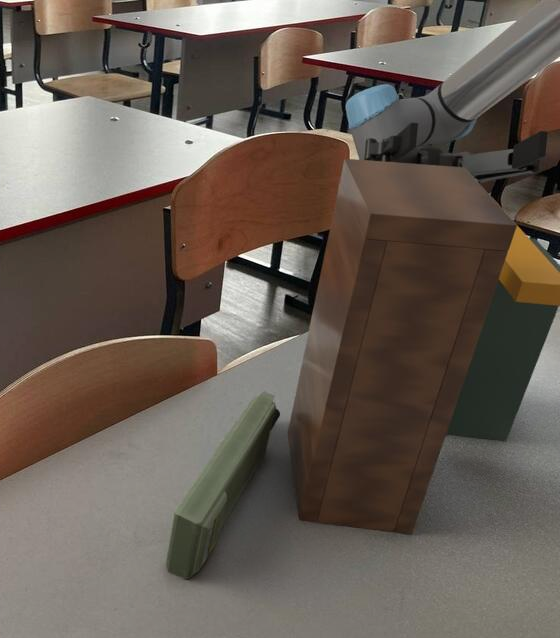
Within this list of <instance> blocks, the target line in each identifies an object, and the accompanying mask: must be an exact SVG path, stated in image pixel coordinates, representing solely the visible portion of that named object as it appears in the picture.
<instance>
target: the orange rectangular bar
mask: <svg viewBox="0 0 560 638" xmlns="http://www.w3.org/2000/svg"><path fill="white" fill-rule="evenodd" d="M496 203H497V204H498V205H499V206H500V204H499V203H498V201H496ZM504 212H505V213H506V214H507V215H508V216H509V214H508V212H506V211H505V210H504ZM513 222H514V223H515V224H516V225H517V223H516V222H515V221H514V220H513ZM529 238H530V237H528V235H527V234H526V233H525V232H524V231H523V230H522V229H521V228H520V227H519V226H518V225H517V227H516V230H515V233H514V236H513V239H512V242H511V245H510V248H509V251H508V253H507V256H506V259H505V262H504V265H503V268H502V271H501V274H500V277H499V280H500V281H501V283H502V284H503V285H504V287H505V288H506V290H507V291H508V292H509V294H510V295H511V296H512V298H513V299H514V301H515V302H525V303H536V304H546V305H557V306H559V307H560V273H559V271H558V270H557V269H556V268H555V267H554V266H553V265H552V264H551V263H550V261H549V260H548V259H547V258H546V257H545V256H544V255H543V254H542V252H541V251H540V250H539V249H538V248H537V247H536V246H535V245H534V244H533V242H532V241H531V240H530V239H529Z"/></svg>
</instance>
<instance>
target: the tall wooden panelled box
mask: <svg viewBox="0 0 560 638" xmlns="http://www.w3.org/2000/svg"><path fill="white" fill-rule="evenodd" d="M496 202H497V201H496V200H495V199H494V197H493V196H491V194H490V193H488V192H487V190H486V189H485V188H484V187H483V186H482V185H481V183H480V184H479V182H478V181H477V180H476V179H475V178H474V177H473V176H472V175H471V174H470V172H469V171H468V170H467V169H466V168H464V167H451V166H437V165H424V164H410V163H396V162H383V161H369V160H359V159H355V158H344V159H343V164H342V169H341V174H340V178H339V184H338V188H337V194H336V197H335V203H334V209H333V213H332V218H331V222H330V228H329V233H328V237H327V241H326V246H325V251H324V255H323V260H322V265H321V271H320V276H319V280H318V285H317V289H316V295H315V299H314V305H313V309H312V313H311V317H310V318H311V319H310V324H309V328H308V333H307V338H306V342H305V348H304V352H303V358H302V362H301V367H300V372H299V376H298V381H297V386H296V391H295V396H294V401H293V406H292V411H291V414H290V420H289V424H288V429H287V436H288V437H287V438H288V445H289V452H290V462H291V467H292V469H291V470H292V475H293V484H294V490H295V492H294V493H295V499H296V506H297V513H298V520H299V521H307V522H313V523H321V524H329V525H337V526H338V525H339V526H344V527H352V528H359V529H366V530H367V529H368V530H374V531H382V532H391V533H398V534H406V535H407V534H408V535H413V533H414V530H415V527H416V524H417V522H418V519H419V515H420V513H421V510H422V506H423V504H424V501H425V498H426V495H427V491H428V490H429V486H430V484H431V481H432V477H433V475H434V471H435V469H436V465H437V462H438V460H439V457H440V454H441V451H442V449H443V444H444V442H445V439H446V436H447V434H446V433H447V430H448V427H449V424H450V421H451V418H452V415H453V412H454V410H455V407H456V404H457V401H458V398H459V395H460V392H461V389H462V386H463V383H464V380H465V377H466V374H467V371H468V368H469V365H470V362H471V359H472V356H473V353H474V351H475V348H476V345H477V342H478V339H479V336H480V333H481V330H482V327H483V324H484V321H485V318H486V315H487V312H488V309H489V306H490V303H491V300H492V297H493V295H494V292H495V289H496V286H497V283H498V280H499V277H500V274H501V271H502V268H503V265H504V262H505V259H506V256H507V253H508V251H509V248H510V245H511V242H512V239H513V236H514V233H515V230H516V227H517V226H518V224H517V223H516V222H515V221H514V219H512V218H511V216H509V214H508V213H507V212H506V211H505V210H504V209H503V208H502V206H500V204H499V203H498V202H497V203H498V204H499V205H498V204H497V203H496ZM504 211H505V212H506V213H507V214H508V215H507V214H506V213H505V212H504ZM513 221H514V222H515V223H516V224H515V223H514V222H513Z"/></svg>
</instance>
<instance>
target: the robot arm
mask: <svg viewBox="0 0 560 638" xmlns="http://www.w3.org/2000/svg"><path fill="white" fill-rule="evenodd" d="M559 58H560V0H540V1H538V2H537V3H536V4H534V5H533V6H532V7H531V8H530V9H528V11H527V12H525V13H524V14H523V15H521V16H520V17H519V18H518V19H516V21H514V22H513V23H512V24H510V26H509V27H507V28H506V29H505V30H503V32H501V33H500V34H499V35H498V36H497V37H495V38H494V39H493V40H492V41H490V43H488V44H487V45H486V46H485V47H483V48H482V49H481V50H479V52H477V53H476V54H474V55H473V56H472V57H471V58H470V59H469V60H468V61H466V62H465V63H464V64H463V65H462V66H461V67H460V68H458V69H457V70H455V72H453V73H452V74H450V76H448V77H447V78H446V79H445V80H444V81H443V82H442V83H441V84H439V85H438V86H436V87H435V88H434V89H433V90H432V91H430V92H429V93H427V94H426V95H423V96H418V97H417V96H416V97H408V98H400V95H399V94H398V93H397V90H396V88H395V86H393V85H391V84H387V83H385V84H379V85H374V86H372V87H369V88H366V89H363V90H362V91H359V92H357V93H355V94H353V96H351V97H349V99H347V101H346V103H345V111H346V118H347V121H348V129H349V130H350V133H351V136H352V140H353V143H354V147H355V150H356V154H357V157H358V160H369V161H383V162H396V163H410V164H424V165H437V166H451V167H464V168H466V169H467V170H468V171H469V172H470V174H471V175H472V176H473V177H474V178H475V179H476V180H477V181H478V182H479V184H480V185H481V184H483V183H487V182H489V181H496V180H500V179H506V178H512V177H518V176H523V175H524V176H525V175H529V174H537V173H540V172H541V167H542V158H544V157H546V153H547V144H548V143H547V141H548V133H549V132H548V131H546V130H540V131H537V132H536V133H534V134H532V135H531V136H528V137H527V138H525V139H523V140H520V141H519V142H518V143H515V144H514V145H513V148H509V149H501V150H495V151H494V150H493V151H486V152H479V153H478V152H477V153H472V152H469V151H467V150H464V151H458V152H449V151H448V152H447V151H444V150H442V149H441V148H439V147H438V146H434V145H437V144H447V143H450V142H454V141H455V140H459V139H460V140H461V139H462V138H465V137H466V136H467V135H468V134H470V133H471V131H472V130H473V128H474V126H475V124H476V123H477V120H478V118H479V117H481V115H483V114H484V113H485V112H487V111H489V110H490V109H491V108H493V107H494V106H495V105H496V104H498V103H499V102H500V101H502V100H503V99H504V98H506V97H507V96H509V95H510V94H511V93H513V92H514V91H515V90H517V89H518V88H520V87H521V86H522V85H524V84H525V83H526V82H528V81H529V80H530V79H532V78H533V77H534V76H536V75H537V74H539V73H540V72H542V71H543V70H544V69H545V68H546V67H548V66H550V65H551V64H552V63H553V62H555V61H556V60H558V59H559ZM460 159H461V160H460Z"/></svg>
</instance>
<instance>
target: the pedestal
mask: <svg viewBox="0 0 560 638" xmlns="http://www.w3.org/2000/svg"><path fill="white" fill-rule="evenodd" d="M528 238H529V239H530V240H531V241H532V242H533V244H534V245H535V246H536V247H537V248H538V249H539V250H540V251H541V252H542V254H543V255H544V256H545V257H546V258H547V259H548V260H549V261H550V263H551V264H552V265H553V266H554V267H555V268H556V269H557V270H558V271H559V273H560V264H559V262H557V260H556V259H555V258H554V257H553V256H552V255H551V254H550V252H548V250H546V248H545V247H544V246H543V245H542V244H541V243H540V242H539V241H538V240H537V239H536V238H532V237H531V238H530V237H528ZM559 308H560V306H557V305H546V304H536V303H525V302H515V301H514V299H513V298H512V296H511V295H510V294H509V292H508V291H507V290H506V288H505V287H504V285H503V284H502V283H501V281H500V280H498V283H497V286H496V289H495V292H494V295H493V297H492V300H491V303H490V306H489V309H488V312H487V315H486V318H485V321H484V324H483V327H482V330H481V333H480V336H479V339H478V342H477V345H476V348H475V351H474V353H473V356H472V359H471V362H470V365H469V368H468V371H467V374H466V377H465V380H464V383H463V386H462V389H461V392H460V395H459V398H458V401H457V404H456V407H455V410H454V412H453V415H452V418H451V421H450V424H449V427H448V430H447V433H446V435H450V436H451V435H452V436H460V437H468V438H477V439H485V440H486V439H487V440H496V441H504V442H506V441H507V440H508V438H509V435H510V433H511V430H512V428H513V425H514V422H515V419H516V417H517V415H518V412H519V409H520V407H521V404H522V401H523V399H524V396H525V394H526V391H527V389H528V387H529V383H530V381H531V379H532V376H533V374H534V372H535V369H536V366H537V363H538V361H539V358H540V355H541V353H542V351H543V348H544V345H545V344H546V340H547V339H548V338H547V337H548V335H549V333H550V330H551V328H552V325H553V323H554V320H555V318H556V315H557V313H558V310H559Z"/></svg>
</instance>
